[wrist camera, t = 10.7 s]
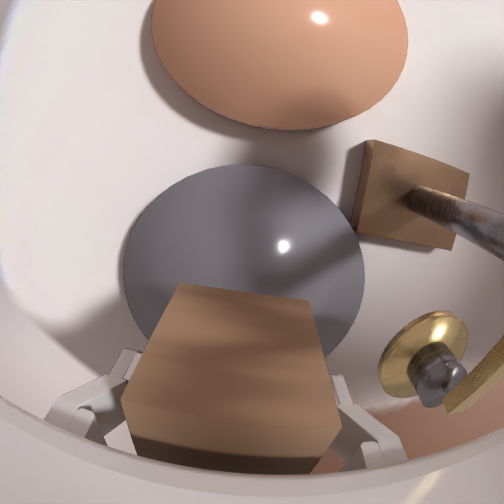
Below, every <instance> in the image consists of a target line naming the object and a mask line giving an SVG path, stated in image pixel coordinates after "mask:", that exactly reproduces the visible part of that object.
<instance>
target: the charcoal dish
mask: <svg viewBox="0 0 504 504" xmlns="http://www.w3.org/2000/svg"><path fill="white" fill-rule="evenodd" d="M123 281H124V289H125V294H126V298H127V302H128V305H129V308H130V310H131V313H132V315H133V317H134V319H135V321H136V323H137V325H138V326H139V328H140V330H141V331H142V332H143V334H144V335H145V336H146V338H147V339H148V340H150V338H151V336H152V334H153V332H154V330H155V328H156V326H157V324H158V322H159V321H160V319H161V317H162V315H163V313H164V311H165V309H166V307H167V305H168V304H169V302H170V300H171V298H172V296H173V294H174V292H175V291H176V289H177V287H178V285H179V283H180V282H183V283H189V284H196V285H202V286H208V287H215V288H221V289H228V290H235V291H241V292H248V293H256V294H263V295H270V296H278V297H286V298H294V299H302V300H308V301H309V304H310V307H311V311H312V314H313V318H314V321H315V325H316V329H317V332H318V336H319V339H320V343H321V347H322V350H323V354H324V357H326V356H327V355H328V354H329V353H330V352H331V351H332V350H333V349H334V348H335V347H336V346H337V345H338V344H339V343H340V342H341V341H342V339H343V338H344V337H345V335H346V334H347V333H348V331H349V329H350V327H351V326H352V324H353V322H354V320H355V318H356V316H357V313H358V311H359V308H360V304H361V301H362V297H363V290H364V282H365V279H364V263H363V257H362V252H361V249H360V246H359V243H358V240H357V237H356V235H355V233H354V231H353V229H352V227H351V225H350V224H349V222H348V221H347V219H346V218H345V216H344V215H343V214H342V212H341V211H340V210H339V208H338V207H337V206H336V205H335V204H334V203H333V202H332V201H331V200H330V199H329V198H328V197H327V196H325V195H324V194H323V193H321V192H320V191H319V190H317V189H316V188H315V187H313V186H312V185H310V184H309V183H307V182H305V181H303V180H301V179H300V178H298V177H296V176H294V175H291V174H289V173H286V172H283V171H281V170H278V169H274V168H269V167H265V166H260V165H246V164H239V165H225V166H220V167H215V168H211V169H207V170H204V171H202V172H199V173H196V174H193V175H191V176H188V177H186V178H184V179H183V180H181V181H179V182H177V183H175V184H174V185H172V186H170V187H169V188H168V189H166V190H165V191H164V192H163V193H161V194H160V195H159V196H158V197H157V198H156V199H155V200H154V201H153V202H152V203H151V204H150V205H149V206H148V207H147V208H146V209H145V211H144V212H143V214H142V215H141V216H140V218H139V219H138V221H137V223H136V225H135V227H134V229H133V231H132V233H131V235H130V238H129V241H128V244H127V247H126V251H125V257H124V263H123Z"/></svg>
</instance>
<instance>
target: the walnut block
mask: <svg viewBox="0 0 504 504" xmlns="http://www.w3.org/2000/svg"><path fill="white" fill-rule="evenodd" d="M120 400H121V404H122V407H123V411H124V415H125V418H126V422H127V425H128V428H129V431H130V435H131V438H132V441H133V444H134V447H135V450H136V452H137V455H138V456H141V457H145V458H149V459H153V460H158V461H162V462H167V463H171V464H176V465H182V466H187V467H193V468H200V469H206V470H214V471H223V472H233V473H245V474H264V475H303V474H310V472H311V471H312V470H313V468H314V467H315V466H316V464H317V463H318V462H319V460H320V459H321V458H322V456H323V455H324V453H325V452H326V450H327V449H328V448H329V446H330V445H331V443H332V442H333V440H334V439H335V437H336V436H337V434H338V433H339V431H340V430H341V428H342V425H341V421H340V417H339V412H338V408H337V404H336V400H335V396H334V392H333V388H332V384H331V380H330V377H329V373H328V369H327V365H326V361H325V358H324V354H323V350H322V347H321V343H320V339H319V336H318V332H317V329H316V325H315V321H314V318H313V314H312V311H311V307H310V304H309V301H308V300H302V299H294V298H286V297H278V296H270V295H263V294H256V293H248V292H241V291H235V290H228V289H221V288H215V287H208V286H202V285H196V284H189V283H183V282H180V283H179V285H178V287H177V289H176V291H175V292H174V294H173V296H172V298H171V300H170V302H169V304H168V305H167V307H166V309H165V311H164V313H163V315H162V317H161V319H160V321H159V322H158V324H157V326H156V328H155V330H154V332H153V334H152V336H151V338H150V340H149V342H148V344H147V346H146V348H145V350H144V352H143V354H142V356H141V358H140V360H139V362H138V364H137V366H136V368H135V370H134V372H133V374H132V376H131V378H130V380H129V382H128V384H127V386H126V388H125V390H124V392H123V394H122V397H121V399H120Z"/></svg>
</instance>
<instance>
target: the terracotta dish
mask: <svg viewBox="0 0 504 504" xmlns="http://www.w3.org/2000/svg"><path fill="white" fill-rule="evenodd" d="M151 31H152V38H153V43H154V46H155V49H156V53H157V55H158V57H159V59H160V61H161V63H162V65H163V67H164V68H165V70H166V71H167V72H168V74H169V75H170V76H171V78H172V79H173V80H174V81H175V82H176V83H177V84H178V85H179V86H180V87H181V88H182V89H183V90H184V91H185V92H186V93H188V94H189V95H190V96H191V97H193V98H194V99H195V100H197V101H198V102H199V103H201V104H202V105H204V106H205V107H207V108H209V109H210V110H212V111H214V112H215V113H217V114H220V115H222V116H224V117H227V118H229V119H231V120H234V121H237V122H240V123H243V124H247V125H251V126H256V127H260V128H265V129H276V130H305V129H313V128H319V127H323V126H328V125H332V124H335V123H338V122H341V121H344V120H347V119H349V118H352V117H355V116H357V115H359V114H360V113H362V112H364V111H366V110H368V109H370V108H371V107H372V106H374V105H375V104H376V103H378V102H379V101H380V100H381V99H382V98H383V97H384V96H385V95H386V94H387V93H388V92H389V91H390V90H391V89H392V87H393V86H394V84H395V83H396V82H397V80H398V79H399V76H400V74H401V72H402V70H403V68H404V64H405V61H406V57H407V49H408V34H407V27H406V22H405V18H404V15H403V13H402V10H401V7H400V5H399V3H398V1H397V0H156V1H155V3H154V8H153V12H152V22H151Z"/></svg>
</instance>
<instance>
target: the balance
mask: <svg viewBox="0 0 504 504" xmlns="http://www.w3.org/2000/svg"><path fill="white" fill-rule="evenodd" d="M468 179H469V173H466V172H464V171H462V170H459V169H457V168H455V167H452V166H450V165H447V164H445V163H442V162H440V161H437V160H434V159H432V158H429V157H426V156H423V155H421V154H418V153H415V152H412V151H409V150H406V149H403V148H400V147H397V146H394V145H390V144H387V143H384V142H380V141H377V140H366V145H365V152H364V158H363V164H362V169H361V175H360V180H359V186H358V191H357V196H356V201H355V205H354V210H353V215H352V219H351V224H350V225H351V227H352V229H353V230H354V231H355V232H356V233H362V234H367V235H373V236H378V237H384V238H389V239H394V240H400V241H405V242H410V243H415V244H420V245H425V246H430V247H435V248H440V249H445V250H450V251H451V250H452V247H453V243H454V240H455V236H456V234H458V235H460V236H461V237H463V238H465V239H467V240H469V241H471V242H472V243H474V244H476V245H478V246H479V247H481V248H483V249H485V250H486V251H488V252H490V253H492V254H493V255H495V256H497V257H498V258H500V259H501V260H503V261H504V214H502V213H500V212H497V211H495V210H492V209H489V208H487V207H484V206H481V205H479V204H476V203H473V202H470V201H467V200H465V195H466V190H467V185H468ZM467 340H468V334H467V329H466V326H465V325H464V323H463V322H462V321H461V320H460V319H459V318H458V317H457V316H456V315H455V314H453V313H451V312H448V311H435V312H431V313H428V314H425V315H423V316H421V317H419V318H417V319H415V320H414V321H412V322H411V323H409V324H408V325H407V326H405V327H404V328H403V329H402V330H401V331H400V332H398V333H397V334H396V336H395V337H394V338H393V339H392V340H391V341H390V343H389V344H388V345H387V347H386V348H385V350H384V352H383V354H382V356H381V358H380V361H379V365H378V377H379V380H380V382H381V384H382V386H383V388H384V390H385V391H386V393H388V394H389V395H391V396H393V397H397V398H407V397H412V396H416V395H418V396H419V398H420V400H421V402H422V403H423V405H424V406H425V407H428V408H432V407H436V406H439V405H441V404H443V403H444V406H445V410H446V413H447V415H449V414H453V413H457V412H461V411H465V410H467V409H468V408H469V407H470V406H471V405H473V404H474V403H475V402H476V401H477V400H479V399H480V398H481V397H482V396H483V395H484V394H485V393H486V392H488V391H489V390H490V389H491V388H492V387H493V386H494V385H495V384H496V383H497V382H498V381H499V380H500V379H501V378H502V377H503V376H504V335H503V337H502V338H501V339H500V340H499V342H498V343H497V344H496V345H495V346H494V347H493V349H492V350H491V351H490V352H489V353H488V354H487V355H486V356H485V358H484V359H483V360H482V361H481V362H480V363H479V364H478V365H477V366H476V367H475V368H474V369H473V370H472V371H471V372H470V373H469V374H468V375H467V371H466V370H465V368H464V367H463V366H462V364H461V363H460V362H459V361H460V359H461V358H462V356H463V354H464V351H465V349H466V345H467Z"/></svg>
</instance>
